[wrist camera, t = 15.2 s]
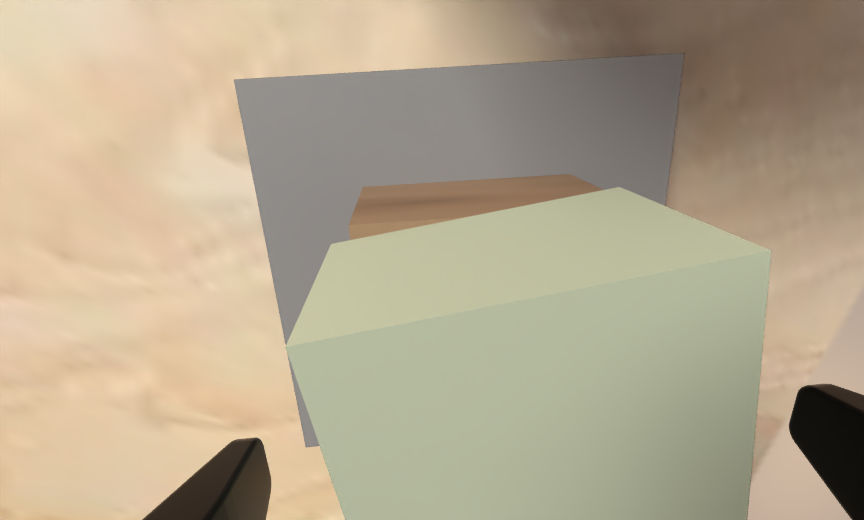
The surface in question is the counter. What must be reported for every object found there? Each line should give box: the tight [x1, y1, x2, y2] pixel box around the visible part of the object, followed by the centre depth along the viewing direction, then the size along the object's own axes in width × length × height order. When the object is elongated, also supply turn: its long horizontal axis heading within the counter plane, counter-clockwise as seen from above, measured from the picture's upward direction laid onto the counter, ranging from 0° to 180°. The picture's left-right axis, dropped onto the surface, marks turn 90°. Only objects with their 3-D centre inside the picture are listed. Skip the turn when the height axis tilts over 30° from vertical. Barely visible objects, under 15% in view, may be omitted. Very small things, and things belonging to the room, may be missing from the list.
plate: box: [234, 53, 685, 447], centre depth 15 cm, size 12×12×2 cm
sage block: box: [286, 187, 772, 520], centre depth 8 cm, size 6×6×4 cm
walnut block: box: [349, 174, 603, 240], centre depth 12 cm, size 6×6×4 cm
